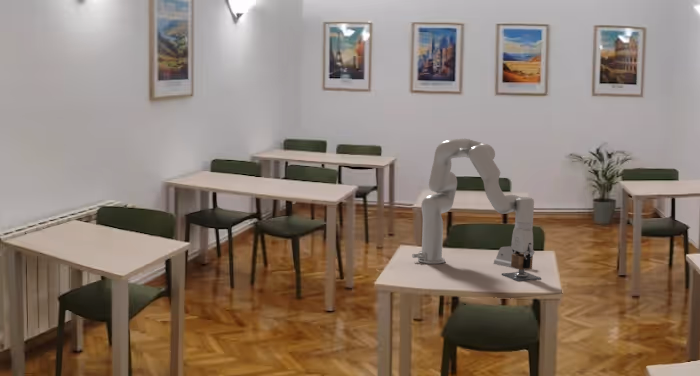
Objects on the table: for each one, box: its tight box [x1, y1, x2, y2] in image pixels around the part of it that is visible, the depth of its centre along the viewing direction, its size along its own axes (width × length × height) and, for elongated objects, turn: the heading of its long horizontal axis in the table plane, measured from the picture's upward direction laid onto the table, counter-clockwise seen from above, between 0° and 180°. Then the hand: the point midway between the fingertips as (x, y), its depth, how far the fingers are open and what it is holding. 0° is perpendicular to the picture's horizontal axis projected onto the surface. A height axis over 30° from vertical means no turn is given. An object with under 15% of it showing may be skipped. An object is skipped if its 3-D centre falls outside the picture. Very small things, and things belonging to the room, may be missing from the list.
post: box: [501, 269, 542, 282], centre depth 347 cm, size 12×12×8 cm
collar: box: [511, 253, 534, 271], centre depth 346 cm, size 6×6×6 cm
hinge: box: [493, 245, 528, 270], centre depth 368 cm, size 17×5×10 cm, turn 44°
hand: (521, 265), depth 347 cm, fingers closed on collar, 6 cm apart
